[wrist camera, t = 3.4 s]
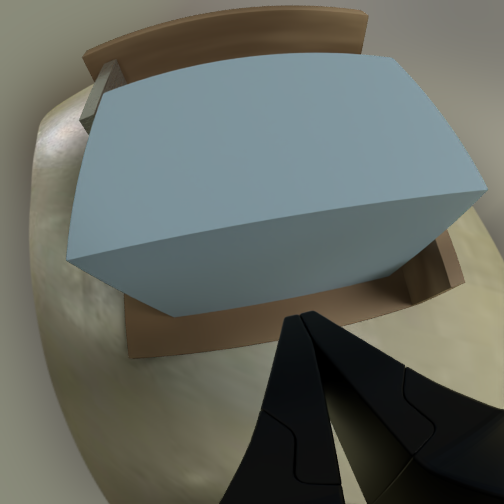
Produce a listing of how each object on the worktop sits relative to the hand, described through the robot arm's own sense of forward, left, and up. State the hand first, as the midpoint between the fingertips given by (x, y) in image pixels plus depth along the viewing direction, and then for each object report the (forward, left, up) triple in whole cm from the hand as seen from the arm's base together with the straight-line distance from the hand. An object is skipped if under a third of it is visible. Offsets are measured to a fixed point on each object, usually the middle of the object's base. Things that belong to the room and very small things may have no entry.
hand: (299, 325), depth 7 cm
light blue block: (+6, 0, -6) cm, 9 cm away
